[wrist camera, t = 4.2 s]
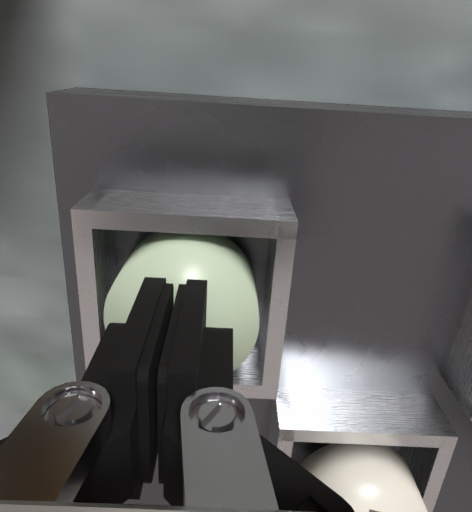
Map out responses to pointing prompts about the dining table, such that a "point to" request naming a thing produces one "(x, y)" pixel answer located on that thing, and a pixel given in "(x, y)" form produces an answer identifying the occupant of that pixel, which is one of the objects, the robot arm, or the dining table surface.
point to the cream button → (367, 477)
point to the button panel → (296, 256)
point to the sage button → (199, 268)
